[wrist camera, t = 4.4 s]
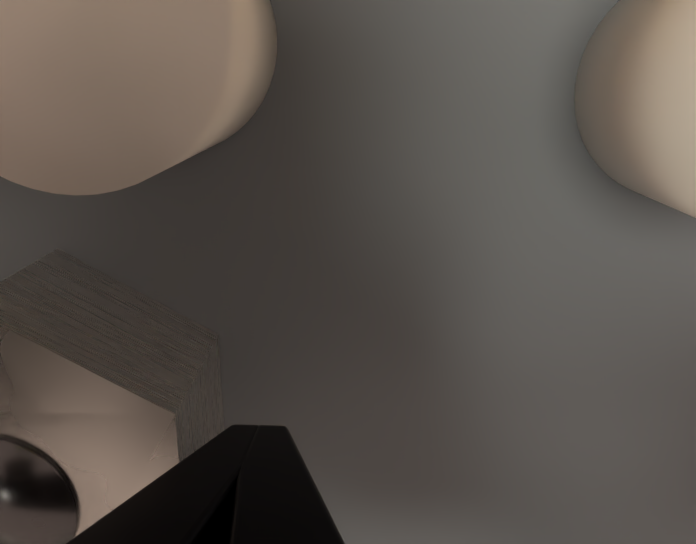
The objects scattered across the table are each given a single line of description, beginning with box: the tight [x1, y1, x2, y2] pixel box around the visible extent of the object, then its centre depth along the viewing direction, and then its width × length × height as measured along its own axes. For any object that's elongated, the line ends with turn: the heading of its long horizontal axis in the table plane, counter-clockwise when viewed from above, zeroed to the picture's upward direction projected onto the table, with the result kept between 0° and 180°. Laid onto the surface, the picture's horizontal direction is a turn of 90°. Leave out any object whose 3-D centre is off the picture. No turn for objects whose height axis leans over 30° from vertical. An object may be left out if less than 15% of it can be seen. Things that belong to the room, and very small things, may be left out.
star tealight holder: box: [0, 249, 224, 544], centre depth 9 cm, size 5×5×2 cm
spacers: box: [0, 0, 696, 218], centre depth 9 cm, size 14×14×3 cm
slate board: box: [0, 0, 696, 544], centre depth 10 cm, size 14×24×2 cm, turn 89°
